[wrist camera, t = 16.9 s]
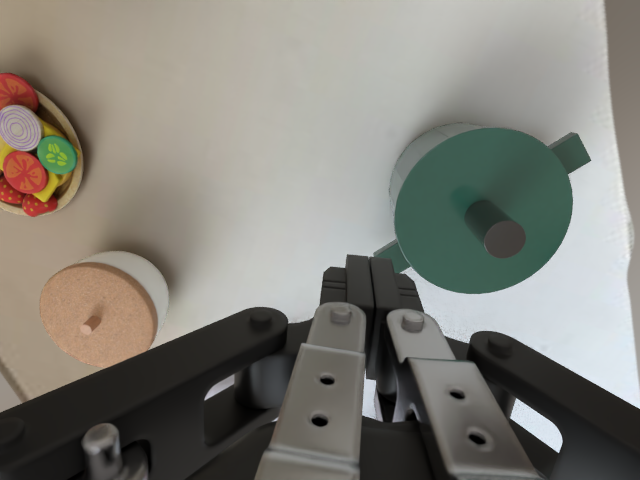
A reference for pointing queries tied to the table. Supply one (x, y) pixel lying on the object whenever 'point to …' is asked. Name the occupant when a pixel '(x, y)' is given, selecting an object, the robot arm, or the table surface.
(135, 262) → the trinket box
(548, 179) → the lid
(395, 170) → the pot
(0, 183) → the toy food set
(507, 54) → the table surface
